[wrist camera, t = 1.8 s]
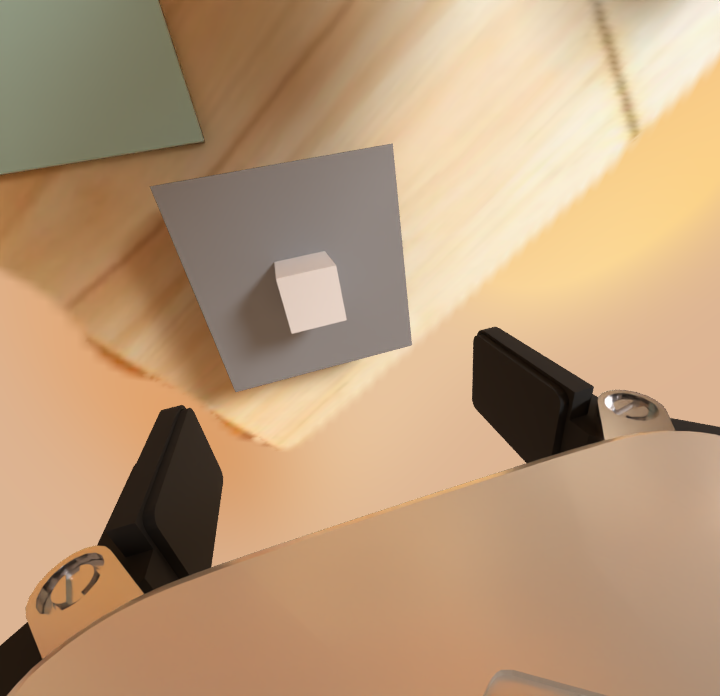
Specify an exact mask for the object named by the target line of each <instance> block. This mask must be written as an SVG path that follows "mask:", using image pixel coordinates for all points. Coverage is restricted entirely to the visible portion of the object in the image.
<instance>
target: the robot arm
mask: <svg viewBox="0 0 720 696" xmlns="http://www.w3.org/2000/svg"><path fill="white" fill-rule="evenodd" d="M472 387H473V388H472V401H473V404H474V407H475V408H476V409H477V410H478V412H479V413H480V414H481V415H482V416H483V417H484V418H485V419H486V420H487V421H488V422H489V423H490V425H492V427H493V428H494V429H495V430H496V431H497V432H498V433H499V434H500V435H501V436H502V437H503V438H504V439H505V441H506V442H507V443H508V444H509V445H510V446H511V447H512V448H513V449H514V450H515V451H516V452H517V453H518V454H519V456H520V457H521V458H522V459H523V460H525V462H526V464H523V465H520V466H517V467H514V468H511V469H507V470H504V471H501V472H498V473H495V474H492V475H489V476H486V477H482V478H479V479H476V480H473V481H470V482H467V483H464V484H461V485H457V486H454V487H451V488H449V489H445V490H442V491H439V492H436V493H433V494H430V495H427V496H424V497H421V498H417V499H415V500H411V501H408V502H405V503H402V504H399V505H396V506H393V507H390V508H387V509H384V510H381V511H378V512H375V513H372V514H368V515H365V516H362V517H360V518H356V519H354V520H350V521H347V522H344V523H341V524H338V525H336V526H332V527H330V528H326V529H323V530H320V531H317V532H314V533H311V534H308V535H305V536H302V537H300V538H296V539H293V540H290V541H287V542H284V543H281V544H278V545H275V546H272V547H269V548H266V549H263V550H260V551H257V552H254V553H251V554H249V555H246V556H243V557H240V558H237V559H234V560H231V561H229V562H226V563H223V564H220V565H217V566H214V567H211V564H212V557H213V550H214V542H215V536H216V529H217V521H218V515H219V507H220V500H221V493H222V486H223V476H222V472H221V469H220V467H219V465H218V463H217V460H216V458H215V456H214V454H213V452H212V450H211V448H210V445H209V443H208V441H207V439H206V437H205V435H204V433H203V431H202V428H201V426H200V424H199V422H198V420H197V418H196V415H195V413H194V411H193V410H192V409H191V408H188V409H186V408H185V407H184V406H183V405H180V406H177V407H172V408H169V409H164V410H161V412H160V413H159V415H158V418H157V420H156V422H155V424H154V427H153V428H152V431H151V433H150V435H149V437H148V439H147V441H146V444H145V446H144V448H143V450H142V452H141V455H140V457H139V459H138V461H137V463H136V464H135V466H134V467H133V469H132V471H131V473H130V476H129V478H128V480H127V482H126V485H125V487H124V489H123V491H122V493H121V495H120V497H119V499H118V502H117V504H116V506H115V508H114V510H113V512H112V515H111V517H110V519H109V521H108V523H107V525H106V528H105V530H104V532H103V534H102V536H101V538H100V540H99V543H98V545H97V546H92V547H88V548H85V549H82V550H80V551H78V552H76V553H74V554H72V555H71V556H69V557H67V558H66V559H64V560H63V561H62V562H60V563H59V564H58V565H57V566H55V567H54V568H53V569H52V570H51V571H49V572H48V573H47V574H46V576H45V577H44V578H43V579H42V580H41V581H40V582H39V583H38V585H37V586H36V588H35V589H34V591H33V592H32V594H31V595H30V597H29V600H28V603H27V606H26V619H27V621H28V622H27V623H26V624H25V625H24V626H23V627H21V628H20V629H19V630H18V631H17V632H16V633H15V634H13V635H12V636H11V637H10V638H9V639H7V640H6V641H5V642H4V643H3V644H2V645H1V646H0V696H720V427H716V426H711V425H705V424H700V423H695V422H689V421H684V420H678V419H672V418H670V417H669V415H668V413H667V411H666V409H665V408H664V406H663V405H662V404H660V403H659V402H658V401H656V400H654V399H653V398H650V397H649V396H646V395H643V394H640V393H637V392H632V391H627V390H612V391H606V392H604V393H602V394H601V395H600V396H599V397H597V396H595V395H593V394H592V393H593V388H594V387H593V386H592V385H590V384H589V383H587V382H585V381H584V380H582V379H580V378H579V377H577V376H576V375H574V374H572V373H571V372H569V371H567V370H566V369H564V368H563V367H561V366H559V365H558V364H556V363H555V362H553V361H551V360H550V359H548V358H547V357H545V356H543V355H541V354H540V353H538V352H537V351H535V350H534V349H532V348H530V347H529V346H527V345H525V344H524V343H522V342H521V341H519V340H517V339H516V338H514V337H512V336H511V335H509V334H508V333H506V332H504V331H503V330H501V329H500V328H497V327H492V328H488V329H484V330H481V331H479V332H478V334H477V336H475V337H474V342H473V386H472Z"/></svg>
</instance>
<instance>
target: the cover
mask: <svg viewBox="0 0 720 696" xmlns="http://www.w3.org/2000/svg"><path fill="white" fill-rule="evenodd" d="M150 188H151V191H152V193H153V196H154V198H155V200H156V203H157V205H158V207H159V210H160V212H161V215H162V217H163V219H164V222H165V224H166V227H167V229H168V231H169V234H170V236H171V239H172V241H173V243H174V246H175V248H176V251H177V253H178V255H179V258H180V260H181V263H182V265H183V267H184V270H185V272H186V275H187V277H188V279H189V282H190V284H191V287H192V289H193V291H194V294H195V296H196V298H197V301H198V303H199V306H200V308H201V310H202V313H203V315H204V318H205V320H206V322H207V325H208V327H209V330H210V332H211V334H212V337H213V339H214V342H215V344H216V346H217V349H218V351H219V354H220V356H221V358H222V361H223V363H224V366H225V368H226V370H227V373H228V375H229V378H230V380H231V382H232V385H233V387H234V390H235V392H238V391H242V390H246V389H250V388H253V387H257V386H261V385H265V384H268V383H272V382H276V381H280V380H283V379H287V378H291V377H295V376H298V375H302V374H306V373H310V372H313V371H317V370H321V369H325V368H328V367H332V366H336V365H340V364H343V363H347V362H351V361H355V360H358V359H362V358H366V357H370V356H373V355H377V354H381V353H385V352H388V351H392V350H396V349H400V348H403V347H407V346H411V345H412V341H411V331H410V320H409V310H408V299H407V289H406V279H405V268H404V258H403V247H402V237H401V226H400V216H399V205H398V195H397V184H396V174H395V163H394V153H393V144H388V145H382V146H376V147H371V148H365V149H359V150H354V151H348V152H342V153H337V154H331V155H326V156H320V157H314V158H309V159H303V160H297V161H292V162H286V163H280V164H275V165H269V166H263V167H258V168H252V169H246V170H241V171H235V172H229V173H224V174H218V175H212V176H207V177H201V178H196V179H190V180H184V181H179V182H173V183H167V184H162V185H156V186H150Z"/></svg>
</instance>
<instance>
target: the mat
mask: <svg viewBox="0 0 720 696" xmlns="http://www.w3.org/2000/svg"><path fill="white" fill-rule="evenodd" d="M200 142H205V141H204V138H203V134H202V131H201V128H200V125H199V122H198V119H197V116H196V113H195V110H194V107H193V104H192V101H191V98H190V95H189V92H188V89H187V85H186V82H185V79H184V76H183V73H182V70H181V67H180V64H179V61H178V58H177V55H176V52H175V49H174V46H173V43H172V40H171V36H170V33H169V30H168V27H167V24H166V21H165V18H164V15H163V12H162V9H161V6H160V3H159V0H0V175H4V174H10V173H16V172H22V171H28V170H34V169H41V168H47V167H53V166H59V165H65V164H71V163H77V162H83V161H90V160H96V159H102V158H108V157H114V156H120V155H126V154H133V153H139V152H145V151H151V150H157V149H163V148H169V147H176V146H182V145H188V144H194V143H200Z"/></svg>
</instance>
